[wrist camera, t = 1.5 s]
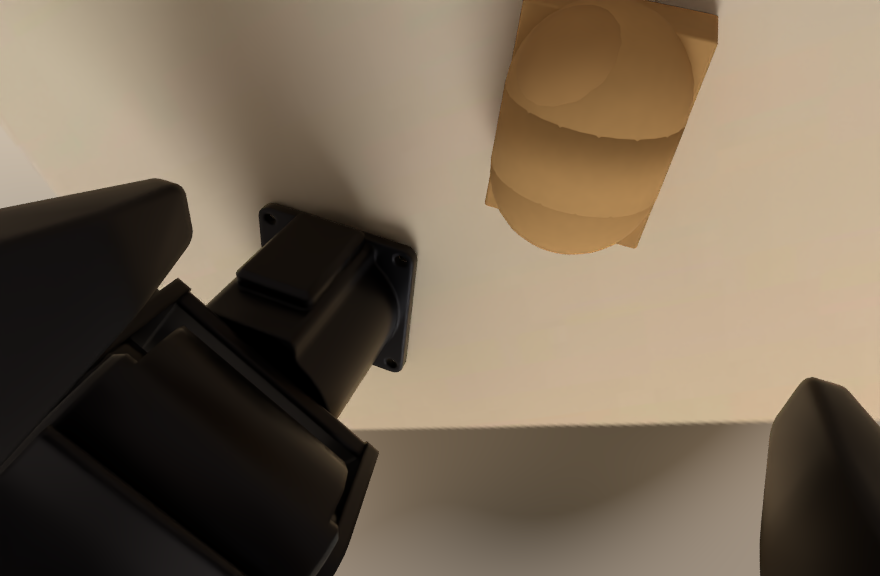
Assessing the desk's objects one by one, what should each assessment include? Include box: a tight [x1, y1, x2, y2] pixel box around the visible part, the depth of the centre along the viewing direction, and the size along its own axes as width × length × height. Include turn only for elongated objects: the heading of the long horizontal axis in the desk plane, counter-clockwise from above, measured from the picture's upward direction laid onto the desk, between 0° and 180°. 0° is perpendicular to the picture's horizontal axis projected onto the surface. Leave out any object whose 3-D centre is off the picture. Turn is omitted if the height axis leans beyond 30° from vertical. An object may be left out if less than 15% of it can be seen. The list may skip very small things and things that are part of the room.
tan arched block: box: [485, 0, 718, 254], centre depth 15 cm, size 6×4×5 cm
